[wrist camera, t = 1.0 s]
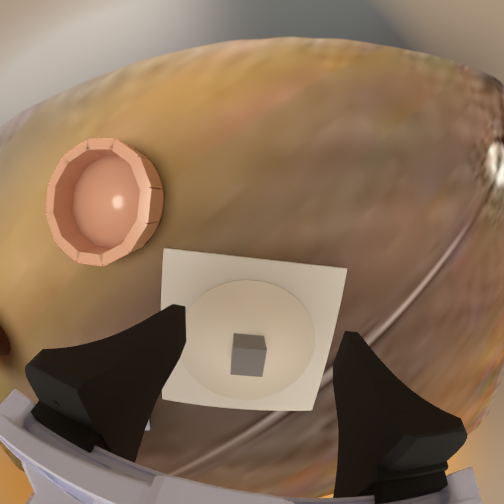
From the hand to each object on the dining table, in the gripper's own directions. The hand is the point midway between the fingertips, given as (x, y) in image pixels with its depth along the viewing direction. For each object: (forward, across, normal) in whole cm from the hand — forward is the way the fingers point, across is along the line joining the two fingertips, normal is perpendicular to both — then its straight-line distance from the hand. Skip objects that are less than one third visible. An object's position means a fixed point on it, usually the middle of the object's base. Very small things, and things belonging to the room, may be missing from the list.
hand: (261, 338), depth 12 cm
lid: (+13, +2, +11) cm, 17 cm away
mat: (+13, +2, +11) cm, 17 cm away
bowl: (+13, +17, -2) cm, 21 cm away
